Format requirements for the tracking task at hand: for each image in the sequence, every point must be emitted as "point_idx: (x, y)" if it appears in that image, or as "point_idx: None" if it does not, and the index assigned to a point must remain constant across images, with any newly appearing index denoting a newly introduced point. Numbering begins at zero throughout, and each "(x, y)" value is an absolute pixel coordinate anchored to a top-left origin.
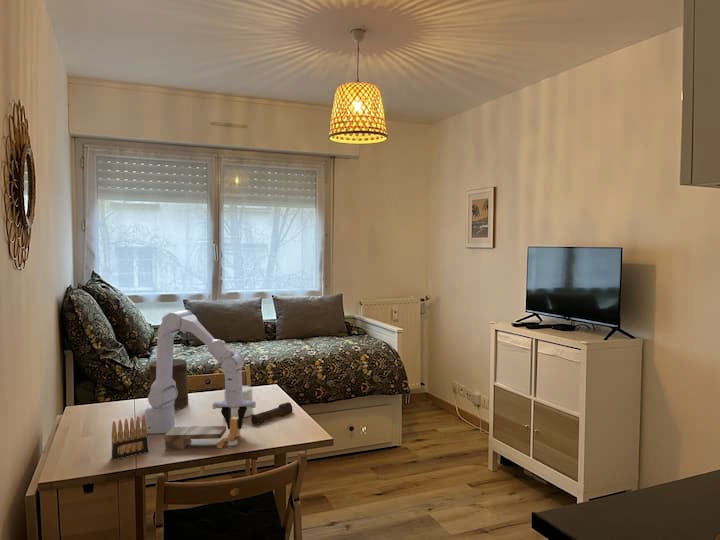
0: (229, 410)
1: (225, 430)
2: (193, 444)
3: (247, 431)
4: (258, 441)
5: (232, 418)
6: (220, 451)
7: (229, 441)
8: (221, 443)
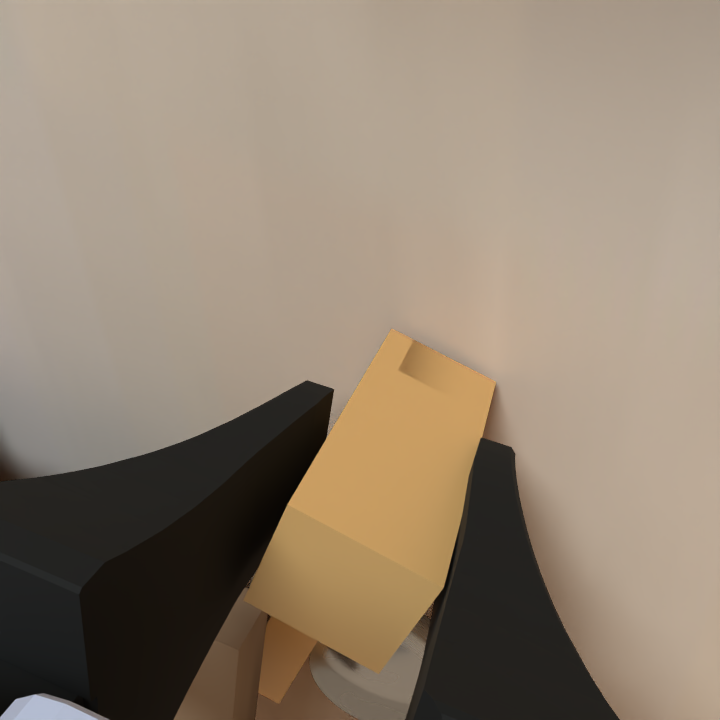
0: (136, 684)
1: (262, 632)
2: (29, 464)
3: (640, 281)
4: (716, 698)
5: (291, 596)
6: (299, 708)
7: (354, 679)
8: (280, 695)
